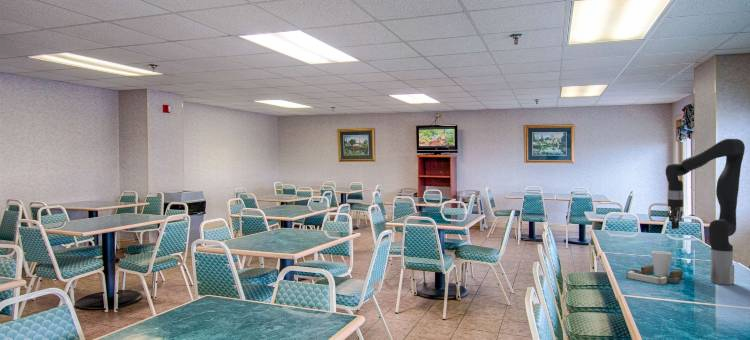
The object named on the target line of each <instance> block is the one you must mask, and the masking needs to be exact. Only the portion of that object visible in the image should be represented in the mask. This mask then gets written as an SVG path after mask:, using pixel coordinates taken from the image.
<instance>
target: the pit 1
mask: <svg viewBox="0 0 750 340" xmlns="http://www.w3.org/2000/svg"><path fill="white" fill-rule="evenodd" d="M629 271H635V273H637V274H642V275H643V271H641V269H640V270H638V269H634V268H632V269H628V270H627V272H629Z"/></svg>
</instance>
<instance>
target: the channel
mask: <svg viewBox="0 0 750 340" xmlns="http://www.w3.org/2000/svg"><path fill="white" fill-rule="evenodd" d="M640 271H643V275H648V274H653V273H654V266H653V264H647V265H643V266H641V267H640ZM669 276H672V277H678V278H680V279H682V278H683V269H676V270H673V271H672V270H671V271H669Z"/></svg>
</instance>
